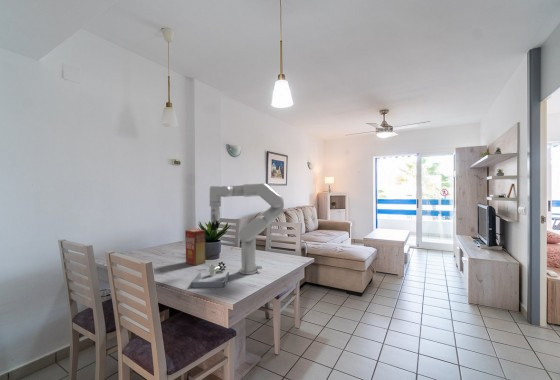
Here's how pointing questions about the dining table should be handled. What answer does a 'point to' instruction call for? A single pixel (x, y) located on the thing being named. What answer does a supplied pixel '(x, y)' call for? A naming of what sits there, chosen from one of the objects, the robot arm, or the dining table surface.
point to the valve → (216, 268)
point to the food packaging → (195, 246)
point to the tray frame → (208, 282)
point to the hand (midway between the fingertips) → (214, 228)
